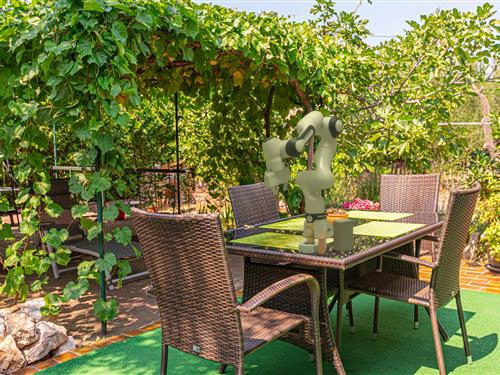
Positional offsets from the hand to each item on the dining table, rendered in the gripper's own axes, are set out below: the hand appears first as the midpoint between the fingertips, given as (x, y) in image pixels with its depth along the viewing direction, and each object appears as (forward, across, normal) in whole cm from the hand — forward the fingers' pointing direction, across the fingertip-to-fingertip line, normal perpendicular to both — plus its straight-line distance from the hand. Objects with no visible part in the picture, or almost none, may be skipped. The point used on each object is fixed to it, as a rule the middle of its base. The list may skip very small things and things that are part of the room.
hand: (280, 192), depth 275 cm
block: (+30, -11, -17) cm, 36 cm away
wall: (+31, -8, -23) cm, 40 cm away
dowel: (+30, -10, -18) cm, 36 cm away
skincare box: (+34, -2, -31) cm, 46 cm away
